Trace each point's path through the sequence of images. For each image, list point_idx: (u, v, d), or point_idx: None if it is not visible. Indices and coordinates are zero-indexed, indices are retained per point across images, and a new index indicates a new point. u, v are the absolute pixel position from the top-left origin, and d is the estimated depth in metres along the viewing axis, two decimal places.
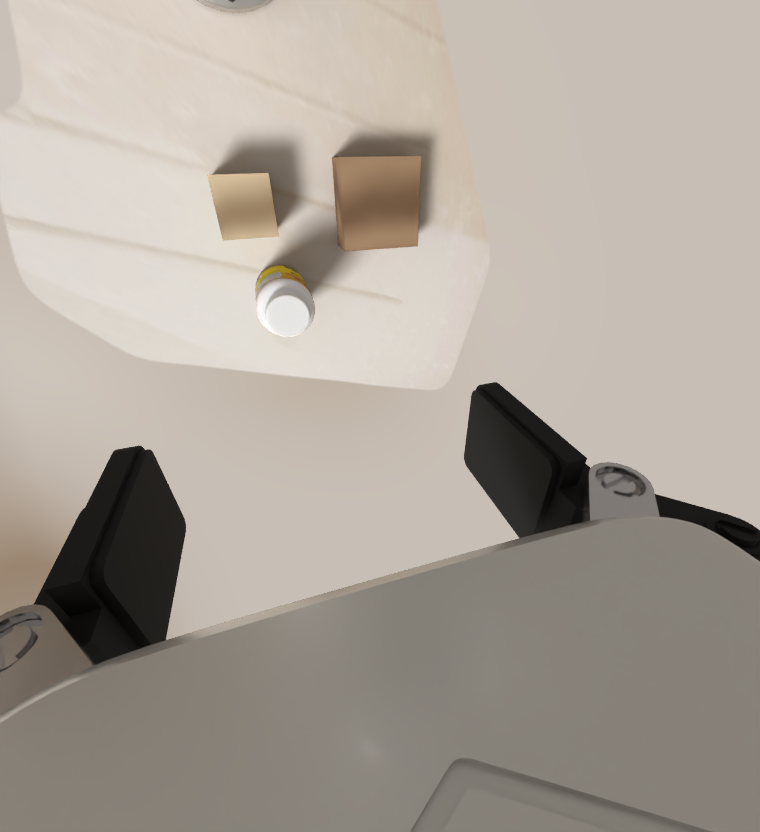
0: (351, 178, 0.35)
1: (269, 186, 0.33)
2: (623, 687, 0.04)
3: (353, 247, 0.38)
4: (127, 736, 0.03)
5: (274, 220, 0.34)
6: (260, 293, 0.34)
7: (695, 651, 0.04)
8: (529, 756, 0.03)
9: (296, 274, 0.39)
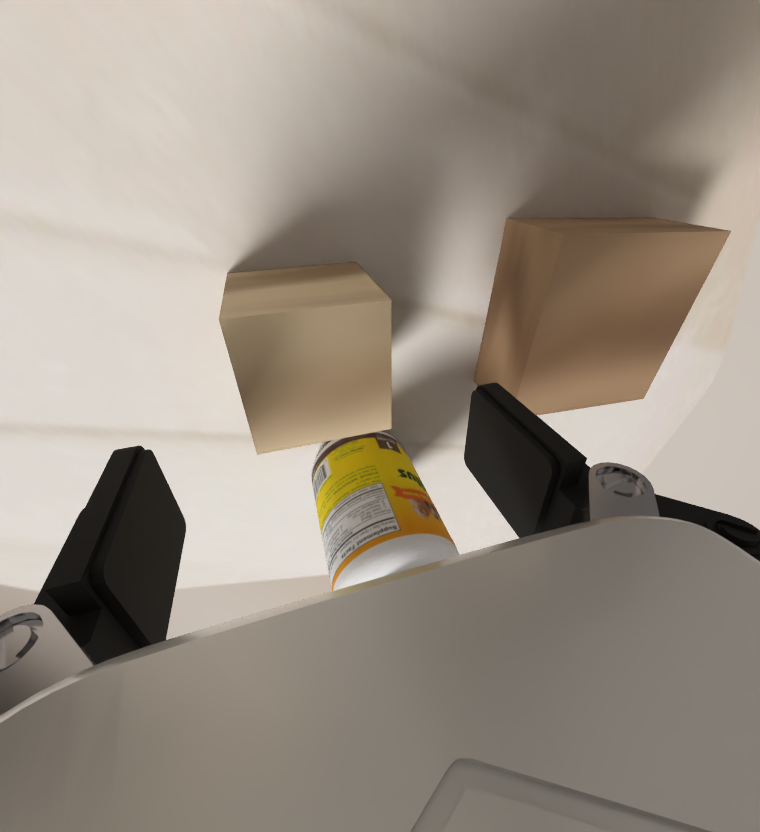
0: (573, 281, 0.14)
1: (388, 331, 0.12)
2: (623, 687, 0.04)
3: None
4: (127, 737, 0.03)
5: (387, 400, 0.13)
6: (349, 577, 0.14)
7: (694, 651, 0.04)
8: (528, 759, 0.03)
9: (406, 468, 0.18)
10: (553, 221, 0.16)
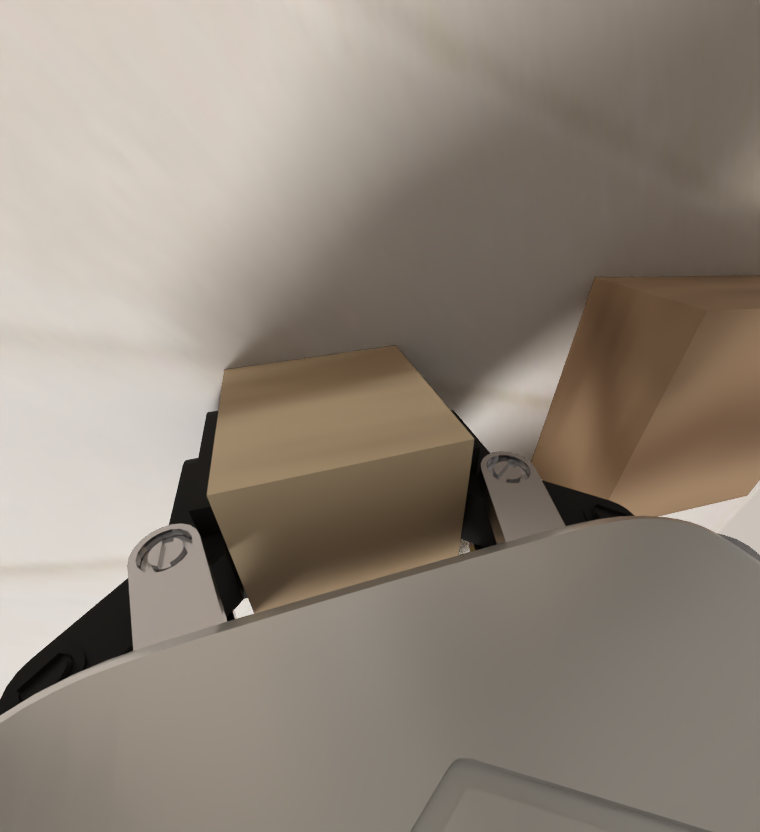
0: (703, 369, 0.10)
1: (464, 477, 0.08)
2: (623, 687, 0.04)
3: None
4: (127, 736, 0.03)
5: (452, 556, 0.09)
6: None
7: (695, 651, 0.04)
8: (527, 756, 0.03)
9: None
10: (658, 282, 0.12)
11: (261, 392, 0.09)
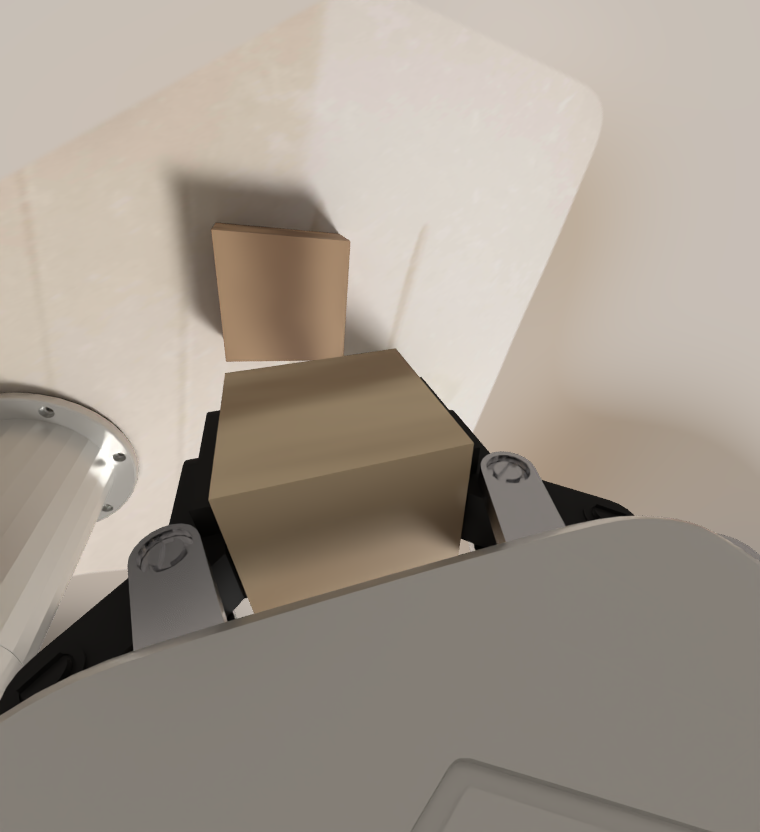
0: (251, 346, 0.25)
1: (464, 480, 0.08)
2: (623, 687, 0.04)
3: (339, 348, 0.27)
4: (127, 736, 0.03)
5: None
6: None
7: (695, 651, 0.04)
8: (529, 758, 0.03)
9: None
10: None
11: (262, 396, 0.09)
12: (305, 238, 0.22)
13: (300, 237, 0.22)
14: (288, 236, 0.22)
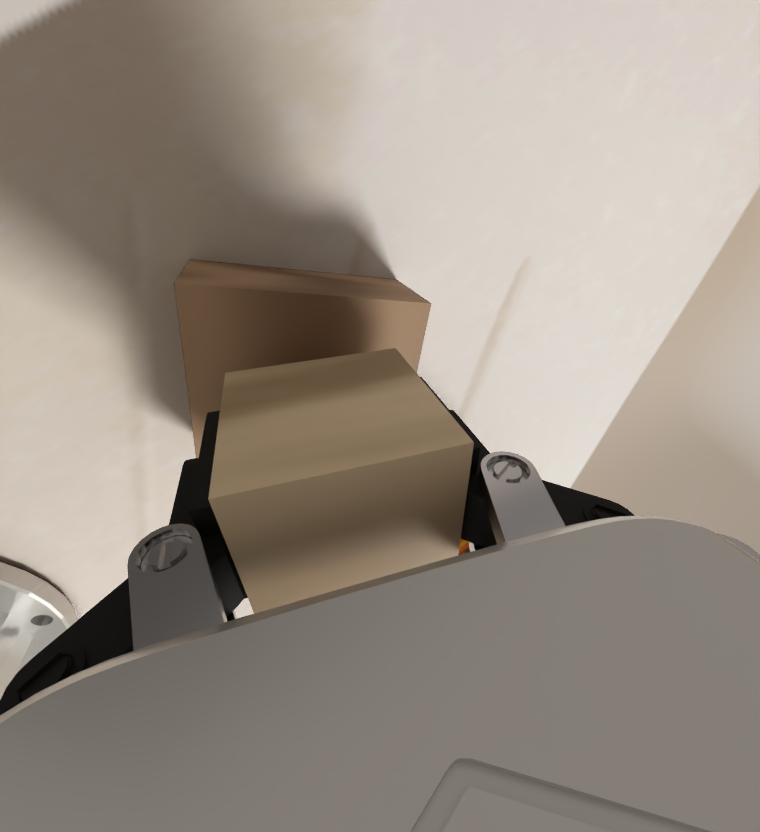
0: None
1: (464, 480, 0.08)
2: (623, 687, 0.04)
3: None
4: (126, 736, 0.03)
5: None
6: None
7: (695, 651, 0.04)
8: (528, 758, 0.03)
9: None
10: None
11: (262, 395, 0.09)
12: (354, 299, 0.12)
13: (345, 296, 0.12)
14: (323, 295, 0.12)
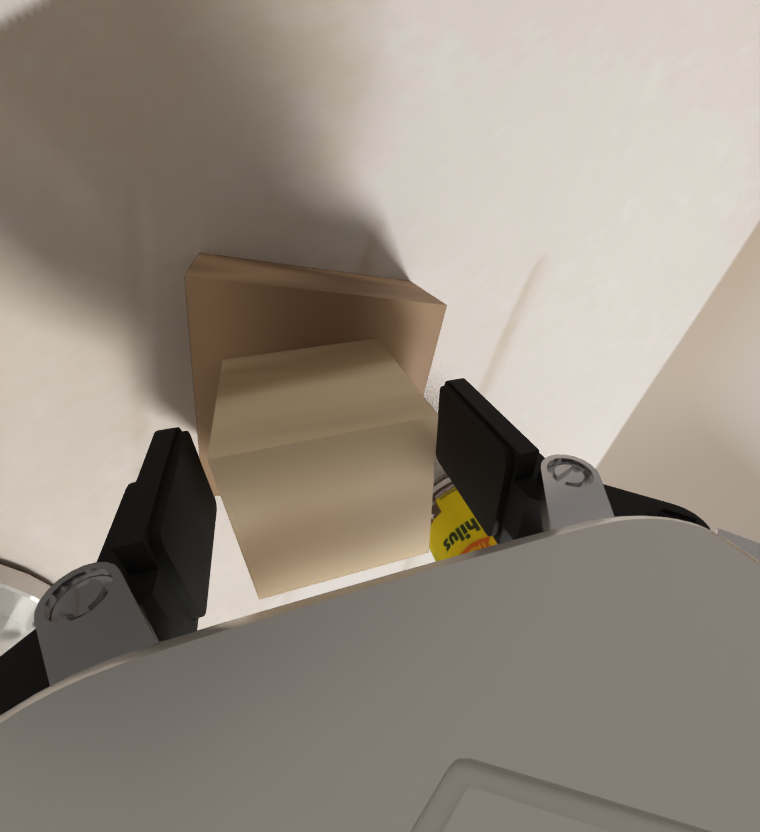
0: None
1: (431, 450, 0.09)
2: (623, 687, 0.04)
3: None
4: (127, 736, 0.03)
5: (425, 524, 0.10)
6: None
7: (695, 651, 0.04)
8: (529, 758, 0.03)
9: (447, 532, 0.20)
10: None
11: (255, 378, 0.10)
12: (369, 298, 0.12)
13: (359, 295, 0.12)
14: (337, 293, 0.11)
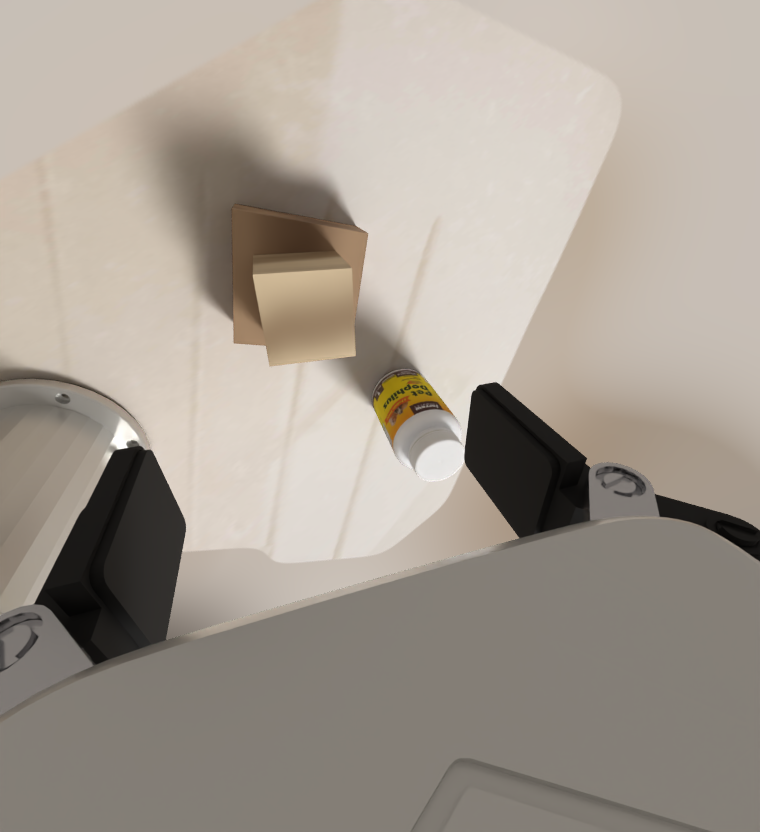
0: (260, 330, 0.25)
1: (350, 287, 0.20)
2: (623, 687, 0.04)
3: None
4: (127, 736, 0.03)
5: (352, 335, 0.21)
6: (407, 466, 0.29)
7: (695, 651, 0.04)
8: (527, 756, 0.03)
9: (386, 398, 0.31)
10: None
11: (270, 259, 0.21)
12: (324, 226, 0.22)
13: (319, 225, 0.22)
14: (307, 223, 0.22)
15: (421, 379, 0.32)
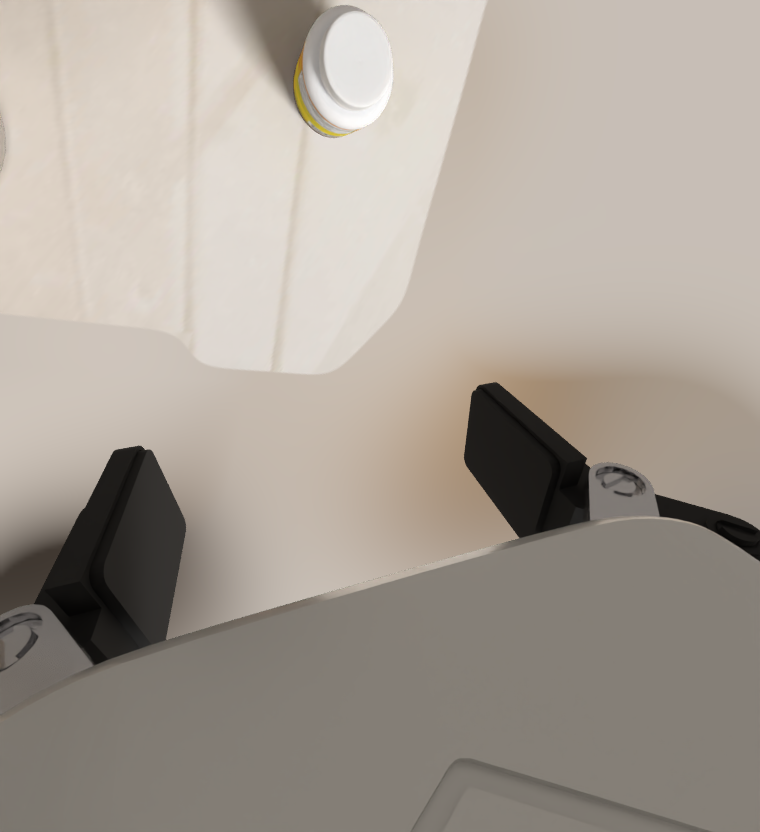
0: None
1: None
2: (623, 687, 0.04)
3: None
4: (127, 736, 0.03)
5: None
6: (325, 115, 0.23)
7: (695, 651, 0.04)
8: (529, 756, 0.03)
9: None
10: None
11: None
12: None
13: None
14: None
15: None
